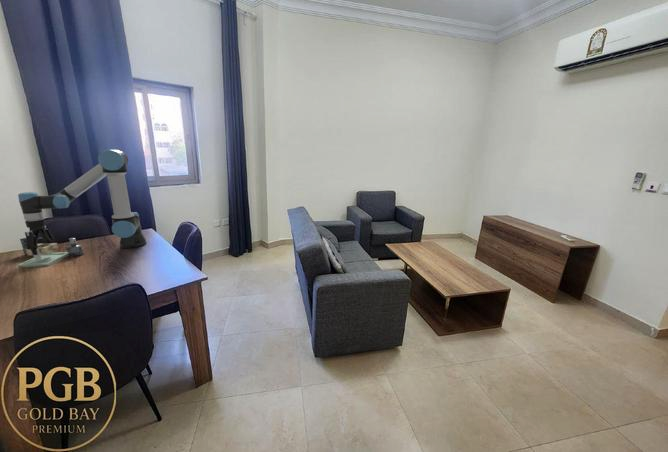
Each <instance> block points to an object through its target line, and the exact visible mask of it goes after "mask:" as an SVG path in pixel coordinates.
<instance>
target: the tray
mask: <svg viewBox="0 0 668 452" xmlns="http://www.w3.org/2000/svg"><path fill="white" fill-rule="evenodd" d="M66 257H69V256H68V253H67V251H66V252H65V251H64V252H63V251H62V252H61V251H60V252H54V253H53V254H47V255H41V260H35V259H34V257H32V258H30V259H28V260H25V261H23V262H22V263H19V264H17V267H18V268H32V267H35V268H36V267H49V266H51V265H54V264H55V263H57V262H59V261H61V260H63V259H64V258H66Z"/></svg>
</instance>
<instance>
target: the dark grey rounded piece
mask: <svg viewBox="0 0 668 452" xmlns="http://www.w3.org/2000/svg"><path fill="white" fill-rule="evenodd" d="M68 240H69V244H70V245H67V246H66V247H65V248H66V252H67V253H68V256H67V257H68V258H76V257H77V258H78V257H81V256H83V255H84V253H85V252H84V250H83V245H82V244H80V243H78V244H77V240H76V237H70V238H68Z"/></svg>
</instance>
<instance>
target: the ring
mask: <svg viewBox="0 0 668 452" xmlns="http://www.w3.org/2000/svg"><path fill="white" fill-rule="evenodd" d="M37 249H39V252H40V255H47V254H50V253H52V252H54V253H55V252H56V251H58V250H59V246H58V242H54V243H46V244H38V245H37ZM26 251H27V254H28V255H27V256H28V257H29V256H33V254H32V250H27V249H26Z"/></svg>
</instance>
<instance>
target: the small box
mask: <svg viewBox="0 0 668 452" xmlns="http://www.w3.org/2000/svg"><path fill="white" fill-rule="evenodd" d="M19 241H20V244H21V247H22V251H23V254H25V255H24V256H28V254H27V251H26V249H27V243H26V237H23V238H20V239H19ZM38 244H46V241H45V240H44V239H43V238H42V237H41V236H40V237H39V238H38Z"/></svg>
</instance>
